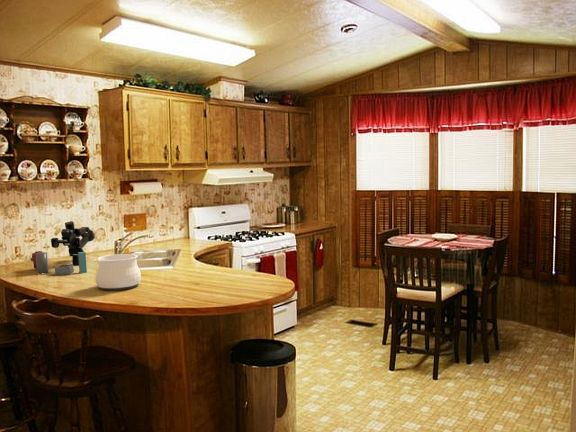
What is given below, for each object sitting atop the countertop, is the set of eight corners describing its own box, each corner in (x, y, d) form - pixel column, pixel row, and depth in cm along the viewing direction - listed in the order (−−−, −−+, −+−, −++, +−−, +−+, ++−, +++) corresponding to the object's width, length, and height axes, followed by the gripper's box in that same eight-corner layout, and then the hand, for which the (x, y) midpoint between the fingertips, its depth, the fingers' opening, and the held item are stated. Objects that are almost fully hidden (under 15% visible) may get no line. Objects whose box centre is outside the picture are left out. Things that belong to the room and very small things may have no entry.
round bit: (41, 271, 346) (40, 252, 345) (50, 272, 344) (49, 252, 343) (34, 273, 339) (33, 253, 338) (43, 274, 338) (42, 254, 337)
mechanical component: (33, 271, 347) (29, 269, 355) (49, 269, 353) (45, 267, 361) (32, 253, 346) (28, 251, 354) (48, 251, 352) (44, 249, 360)
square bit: (79, 272, 342) (78, 252, 341) (85, 271, 344) (84, 251, 343) (80, 273, 338) (78, 253, 337) (86, 272, 340) (85, 252, 339)
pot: (128, 279, 316) (126, 250, 314) (153, 284, 300) (151, 254, 299) (84, 288, 294) (82, 257, 292) (108, 294, 279) (106, 262, 277)
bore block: (59, 272, 342) (58, 264, 342) (73, 271, 343) (73, 264, 343) (55, 275, 333) (54, 267, 333) (69, 274, 335) (69, 266, 334)
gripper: (54, 227, 355) (44, 236, 340) (81, 226, 355) (73, 235, 341) (56, 242, 359) (47, 252, 344) (84, 242, 359) (76, 251, 344)
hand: (61, 247), depth 343 cm, fingers open, 9 cm apart
